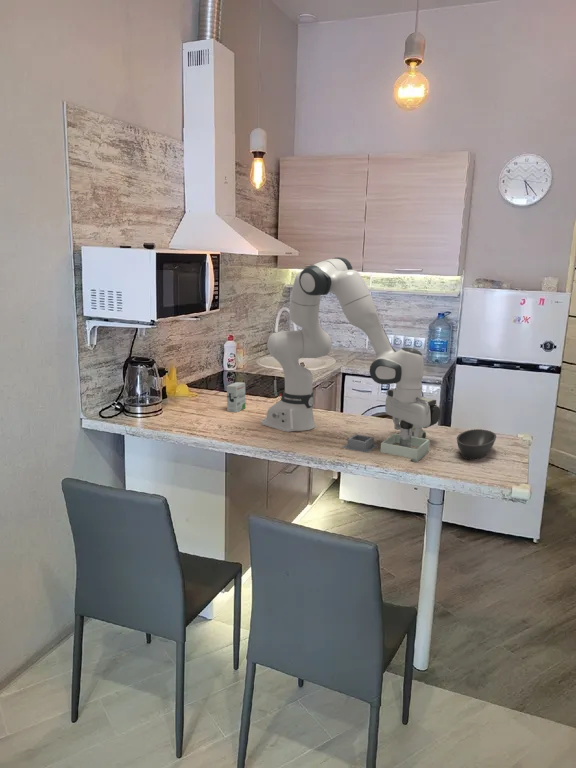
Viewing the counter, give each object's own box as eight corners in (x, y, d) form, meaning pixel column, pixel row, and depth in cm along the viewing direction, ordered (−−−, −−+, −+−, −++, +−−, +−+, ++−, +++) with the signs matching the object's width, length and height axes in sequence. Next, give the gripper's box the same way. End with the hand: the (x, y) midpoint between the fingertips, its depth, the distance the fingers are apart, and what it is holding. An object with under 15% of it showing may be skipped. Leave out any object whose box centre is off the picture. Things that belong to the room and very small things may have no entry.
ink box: (236, 406, 263) (236, 381, 260) (246, 408, 261) (246, 382, 258) (226, 411, 255) (226, 385, 253) (236, 412, 253) (236, 386, 251)
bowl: (500, 449, 213) (502, 433, 211) (482, 466, 195) (484, 448, 194) (468, 442, 219) (469, 427, 218) (447, 458, 202) (449, 441, 200)
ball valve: (440, 441, 220) (443, 396, 216) (429, 446, 214) (432, 400, 210) (398, 431, 231) (401, 388, 227) (387, 435, 225) (390, 391, 221)
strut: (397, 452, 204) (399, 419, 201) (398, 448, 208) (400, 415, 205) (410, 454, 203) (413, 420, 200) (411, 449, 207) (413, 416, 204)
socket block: (341, 450, 207) (342, 439, 206) (353, 443, 216) (353, 432, 215) (367, 455, 202) (368, 444, 202) (378, 448, 211) (379, 437, 210)
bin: (380, 455, 204) (381, 442, 203) (393, 444, 215) (394, 433, 214) (416, 462, 197) (417, 449, 196) (428, 451, 208) (429, 439, 207)
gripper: (436, 400, 194) (433, 440, 197) (396, 387, 211) (394, 424, 214) (422, 402, 191) (419, 442, 194) (383, 389, 208) (381, 426, 211)
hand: (406, 432), depth 204 cm, fingers open, 8 cm apart
